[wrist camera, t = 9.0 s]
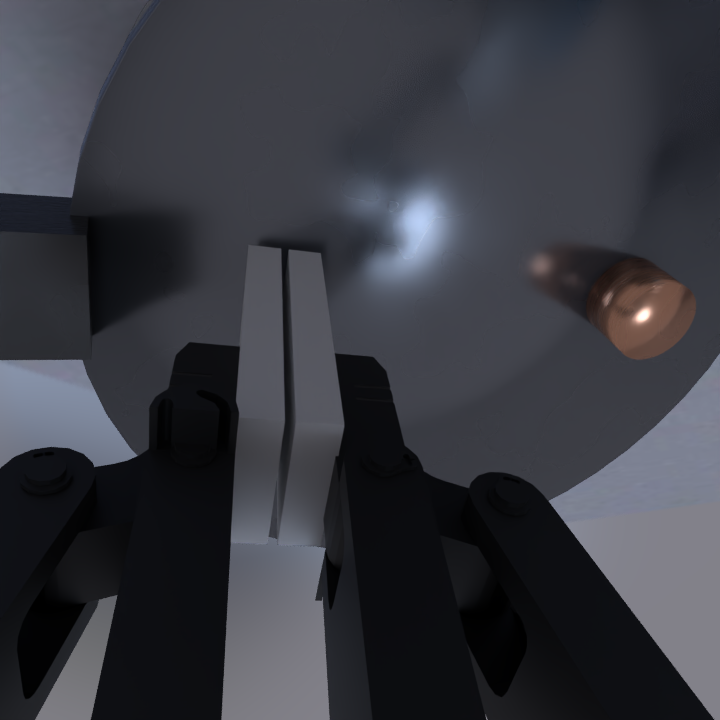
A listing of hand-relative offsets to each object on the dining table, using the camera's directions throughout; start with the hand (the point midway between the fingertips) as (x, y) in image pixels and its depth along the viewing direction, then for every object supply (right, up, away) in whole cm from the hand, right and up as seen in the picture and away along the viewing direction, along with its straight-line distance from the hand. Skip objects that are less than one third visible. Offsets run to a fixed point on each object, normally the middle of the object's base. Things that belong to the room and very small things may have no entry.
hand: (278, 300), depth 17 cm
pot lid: (+2, +1, +2) cm, 3 cm away
